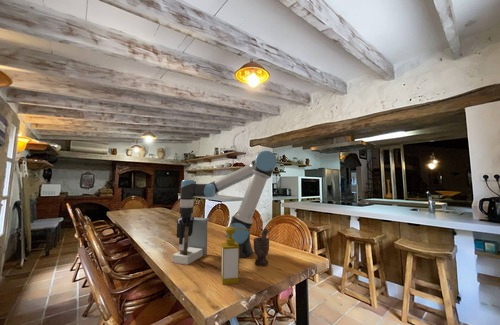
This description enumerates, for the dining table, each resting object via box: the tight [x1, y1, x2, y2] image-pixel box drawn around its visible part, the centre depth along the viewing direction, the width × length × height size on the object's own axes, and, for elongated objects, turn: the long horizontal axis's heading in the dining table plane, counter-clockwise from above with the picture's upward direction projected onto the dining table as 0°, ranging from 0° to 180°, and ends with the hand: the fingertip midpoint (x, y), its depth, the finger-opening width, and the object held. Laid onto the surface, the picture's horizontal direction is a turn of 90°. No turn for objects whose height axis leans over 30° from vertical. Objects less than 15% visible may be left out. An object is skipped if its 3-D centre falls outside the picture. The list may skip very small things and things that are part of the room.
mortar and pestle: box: [253, 228, 270, 267], centre depth 115 cm, size 12×9×20 cm
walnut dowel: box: [179, 227, 189, 255], centre depth 121 cm, size 4×4×16 cm
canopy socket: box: [171, 216, 210, 266], centre depth 125 cm, size 14×18×22 cm
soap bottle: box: [220, 226, 251, 285], centre depth 98 cm, size 7×13×24 cm, turn 102°
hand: (183, 248), depth 120 cm, fingers closed on walnut dowel, 4 cm apart
